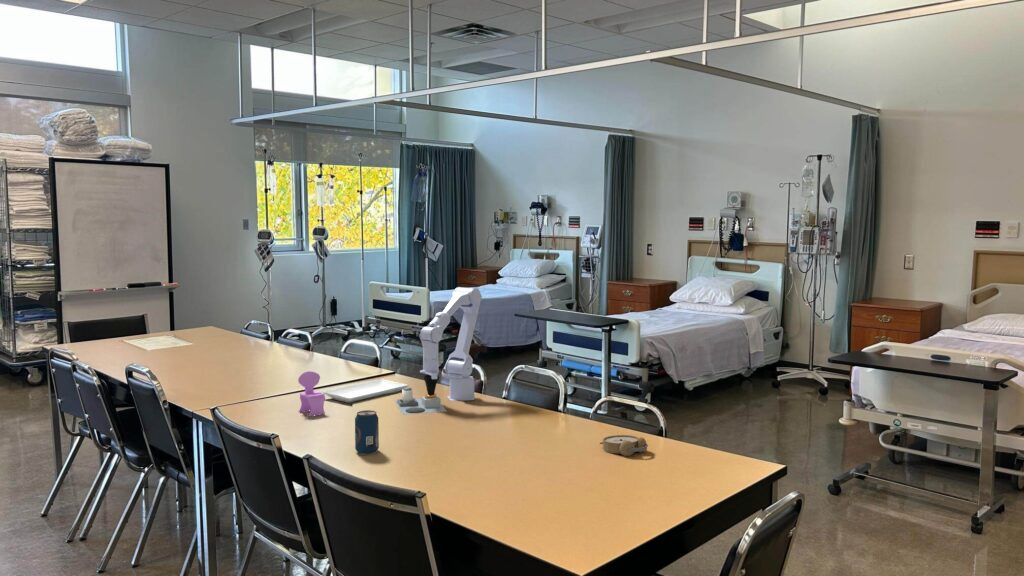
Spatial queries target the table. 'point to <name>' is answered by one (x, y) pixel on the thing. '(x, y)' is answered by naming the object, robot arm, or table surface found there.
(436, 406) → the panel
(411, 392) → the cartridge
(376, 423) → the soda can
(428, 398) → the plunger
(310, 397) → the toy chair
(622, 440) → the alarm clock
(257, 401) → the table surface
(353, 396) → the tray
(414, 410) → the rubber pad
